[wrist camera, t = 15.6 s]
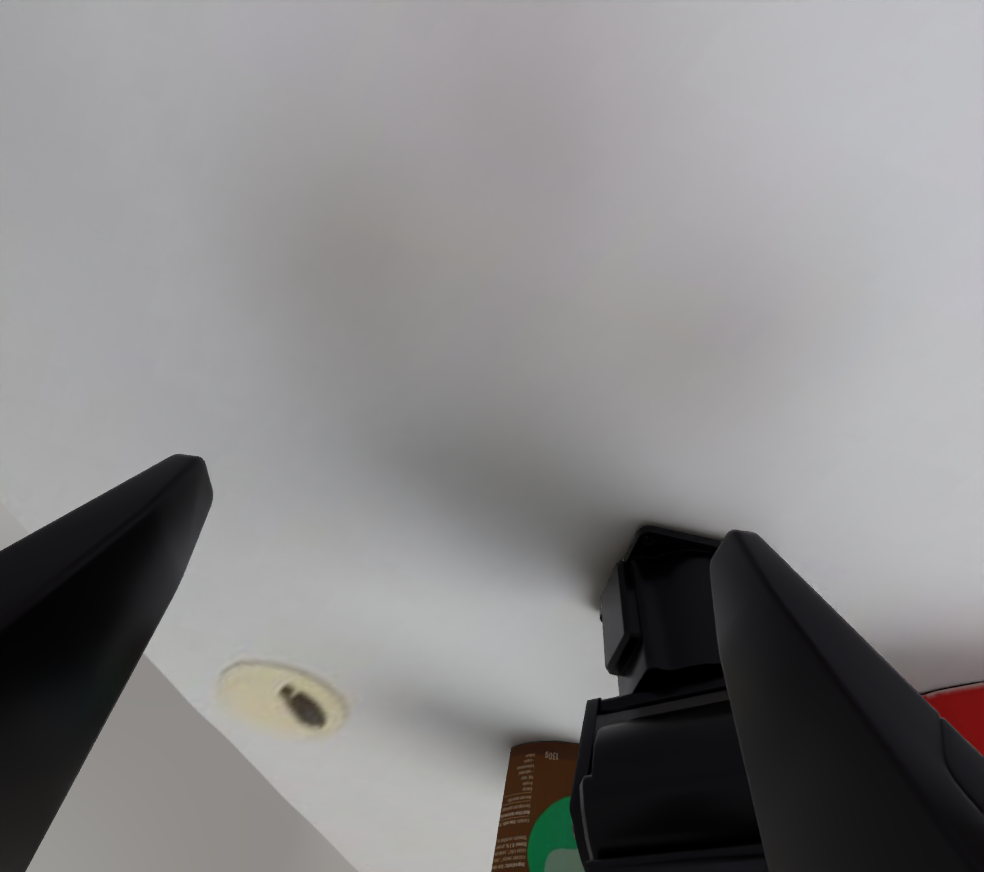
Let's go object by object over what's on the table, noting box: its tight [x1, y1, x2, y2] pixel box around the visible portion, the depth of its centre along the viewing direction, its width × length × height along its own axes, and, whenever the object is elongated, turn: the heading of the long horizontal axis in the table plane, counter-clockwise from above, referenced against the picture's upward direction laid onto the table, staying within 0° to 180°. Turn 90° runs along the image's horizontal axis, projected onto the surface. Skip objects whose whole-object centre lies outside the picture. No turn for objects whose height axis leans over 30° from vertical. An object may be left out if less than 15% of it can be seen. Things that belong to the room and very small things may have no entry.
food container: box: [491, 742, 585, 872], centre depth 32 cm, size 12×6×10 cm, turn 44°
